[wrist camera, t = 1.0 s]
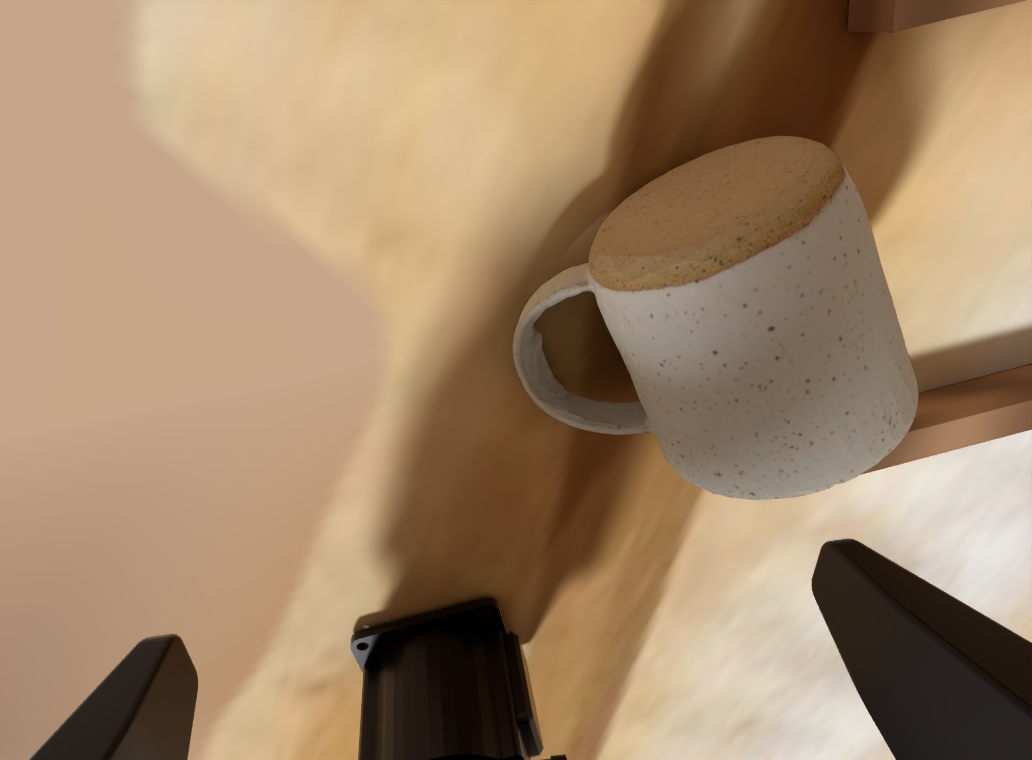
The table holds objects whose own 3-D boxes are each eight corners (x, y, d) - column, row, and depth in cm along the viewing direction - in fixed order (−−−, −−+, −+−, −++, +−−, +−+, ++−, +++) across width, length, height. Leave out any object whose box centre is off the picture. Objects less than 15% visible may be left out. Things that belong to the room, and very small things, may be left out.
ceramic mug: (758, 100, 19) (937, 143, 13) (824, 311, 23) (986, 427, 17) (459, 275, 21) (480, 396, 14) (569, 446, 25) (626, 602, 18)
